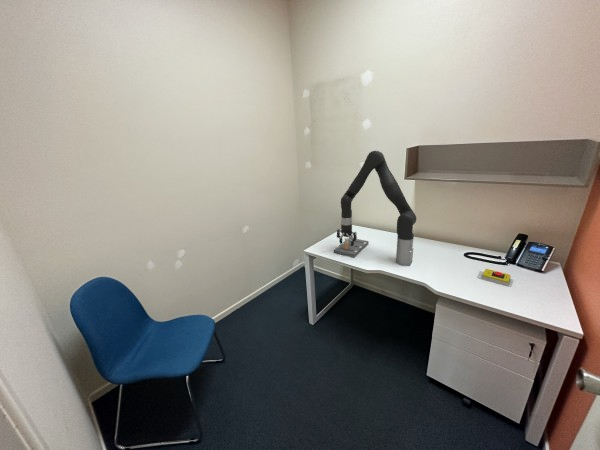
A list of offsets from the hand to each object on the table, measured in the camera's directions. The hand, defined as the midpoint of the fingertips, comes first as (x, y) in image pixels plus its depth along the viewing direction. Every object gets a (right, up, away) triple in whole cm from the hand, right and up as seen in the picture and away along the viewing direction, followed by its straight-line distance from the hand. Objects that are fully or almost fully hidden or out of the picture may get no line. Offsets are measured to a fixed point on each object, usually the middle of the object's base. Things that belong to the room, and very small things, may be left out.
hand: (346, 244), depth 178 cm
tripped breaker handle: (0, -3, +1) cm, 3 cm away
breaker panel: (+5, -4, +8) cm, 10 cm away
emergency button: (+74, -16, -41) cm, 86 cm away
